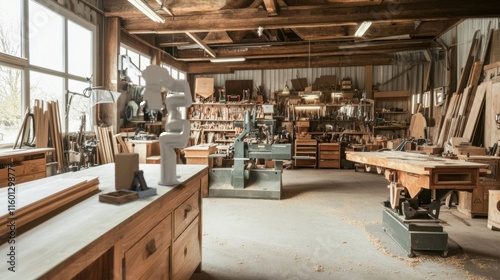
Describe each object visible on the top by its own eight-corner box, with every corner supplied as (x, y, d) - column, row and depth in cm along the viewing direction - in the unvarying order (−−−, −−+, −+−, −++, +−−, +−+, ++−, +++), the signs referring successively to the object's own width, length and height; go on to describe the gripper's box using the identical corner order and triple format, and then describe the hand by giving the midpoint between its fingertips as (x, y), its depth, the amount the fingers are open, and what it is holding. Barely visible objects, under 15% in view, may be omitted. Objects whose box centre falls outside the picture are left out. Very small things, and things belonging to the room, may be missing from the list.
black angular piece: (149, 192, 167) (149, 169, 166) (145, 195, 161) (145, 171, 160) (132, 192, 167) (132, 169, 167) (127, 194, 161) (127, 171, 161)
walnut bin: (119, 195, 161) (119, 190, 161) (138, 198, 156) (137, 192, 156) (98, 201, 150) (98, 194, 150) (117, 204, 145) (117, 197, 144)
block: (139, 187, 182) (139, 153, 181) (131, 191, 172) (131, 154, 171) (123, 186, 183) (123, 152, 182) (114, 190, 173) (113, 154, 172)
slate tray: (139, 191, 173) (139, 185, 173) (156, 193, 167) (156, 187, 167) (120, 195, 162) (120, 189, 162) (138, 198, 156) (138, 192, 156)
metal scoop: (120, 192, 170) (120, 188, 170) (126, 193, 168) (126, 189, 168) (100, 197, 159) (100, 193, 159) (106, 198, 157) (106, 194, 157)
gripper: (158, 90, 176) (158, 121, 177) (135, 87, 160) (135, 120, 161) (169, 90, 173) (169, 121, 174) (146, 86, 157) (146, 121, 158)
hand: (152, 121), depth 168 cm, fingers open, 9 cm apart
